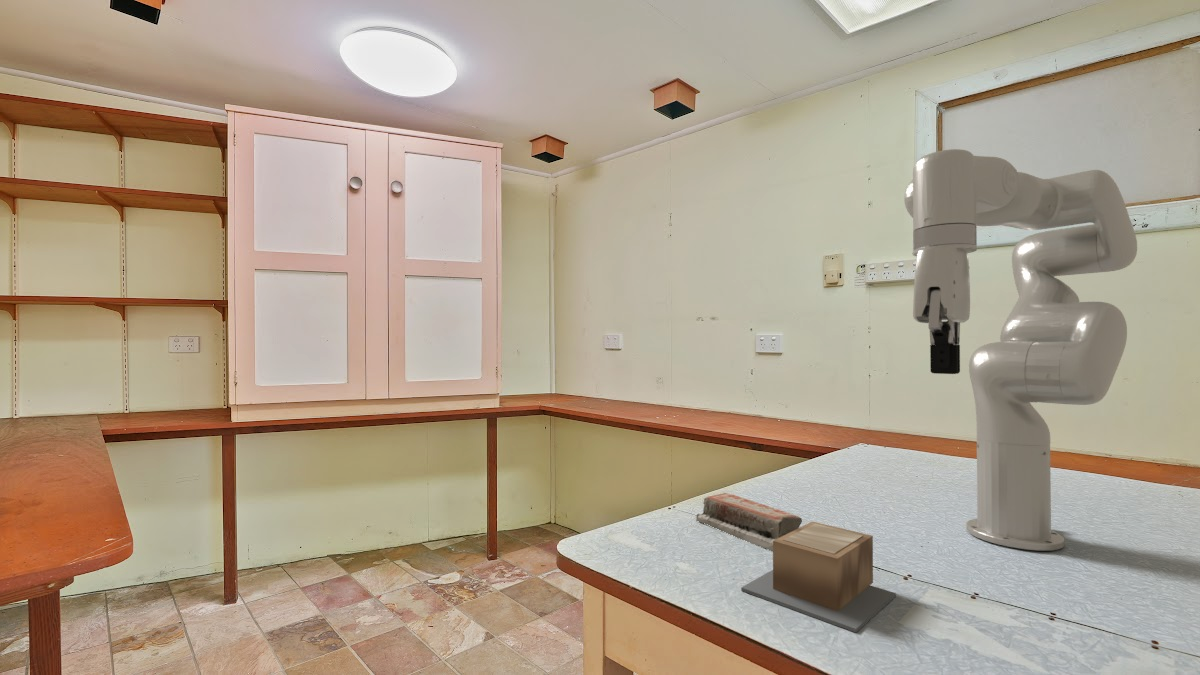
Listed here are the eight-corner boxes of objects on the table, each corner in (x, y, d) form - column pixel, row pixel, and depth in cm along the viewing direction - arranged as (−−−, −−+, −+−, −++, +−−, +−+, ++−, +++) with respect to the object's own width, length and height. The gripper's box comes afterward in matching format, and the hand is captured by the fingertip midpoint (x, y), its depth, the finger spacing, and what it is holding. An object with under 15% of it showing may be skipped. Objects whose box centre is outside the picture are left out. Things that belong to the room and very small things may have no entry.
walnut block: (812, 520, 76) (773, 540, 69) (872, 535, 71) (837, 557, 63) (812, 564, 76) (773, 589, 68) (872, 582, 70) (837, 611, 63)
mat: (788, 563, 78) (788, 560, 78) (895, 596, 67) (895, 593, 67) (741, 590, 69) (741, 587, 69) (855, 632, 59) (855, 628, 59)
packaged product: (693, 495, 97) (733, 488, 102) (693, 523, 97) (733, 514, 102) (776, 523, 82) (818, 513, 87) (776, 556, 81) (818, 543, 87)
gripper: (930, 252, 85) (930, 371, 84) (896, 238, 74) (897, 374, 74) (988, 245, 79) (989, 372, 79) (961, 230, 69) (962, 376, 68)
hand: (945, 373), depth 76 cm, fingers closed
